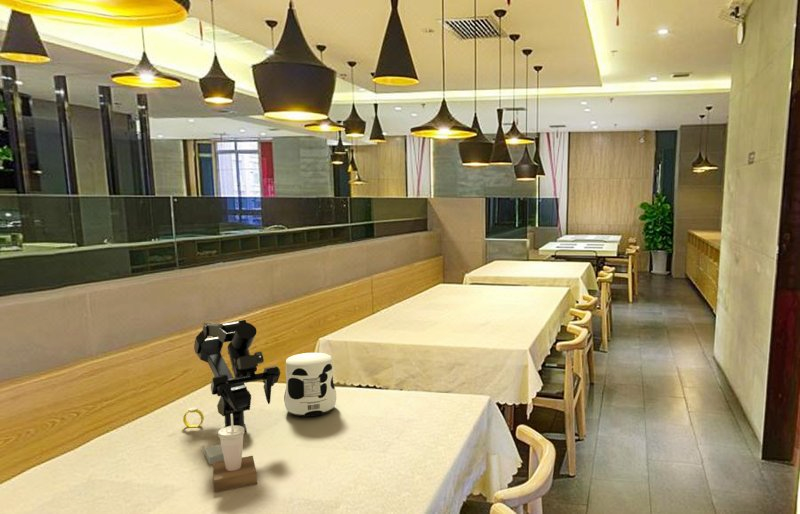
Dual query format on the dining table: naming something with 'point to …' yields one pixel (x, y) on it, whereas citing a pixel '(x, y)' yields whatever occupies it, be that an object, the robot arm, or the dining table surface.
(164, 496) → the dining table surface
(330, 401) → the milk container
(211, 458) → the grey tile
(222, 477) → the walnut block
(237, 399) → the robot arm
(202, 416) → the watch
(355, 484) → the dining table surface
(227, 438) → the smoothie
